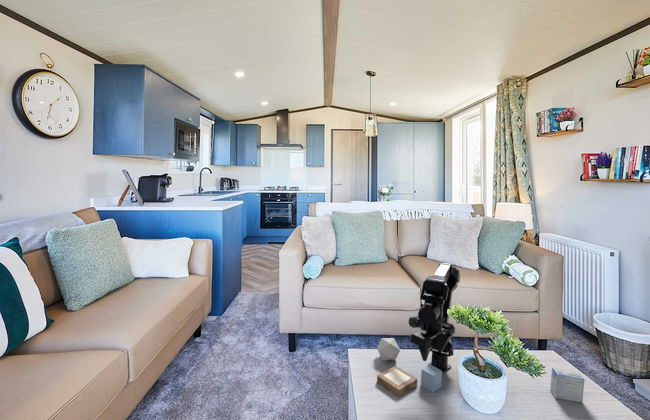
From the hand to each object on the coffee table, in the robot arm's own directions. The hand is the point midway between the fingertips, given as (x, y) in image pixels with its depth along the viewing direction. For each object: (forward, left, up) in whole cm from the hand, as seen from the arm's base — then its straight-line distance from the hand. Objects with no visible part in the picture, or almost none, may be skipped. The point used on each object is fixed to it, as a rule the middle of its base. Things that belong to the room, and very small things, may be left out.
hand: (432, 356), depth 112 cm
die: (-1, -21, -11) cm, 24 cm away
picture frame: (+9, -8, -11) cm, 16 cm away
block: (0, 0, -11) cm, 11 cm away
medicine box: (-32, +31, -11) cm, 46 cm away
